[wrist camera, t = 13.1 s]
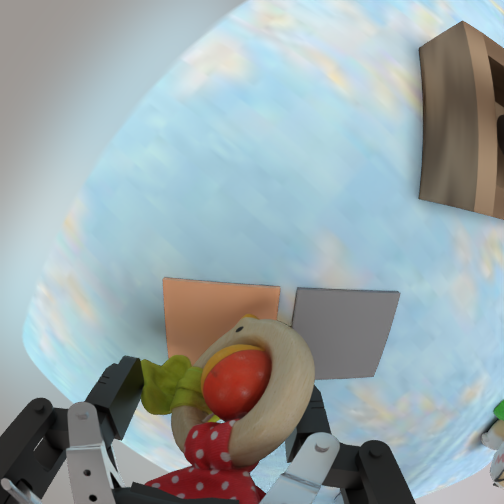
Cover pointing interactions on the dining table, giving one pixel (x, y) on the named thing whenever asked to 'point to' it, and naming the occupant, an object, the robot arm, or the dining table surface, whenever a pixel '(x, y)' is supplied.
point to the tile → (210, 311)
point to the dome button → (500, 132)
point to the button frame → (462, 121)
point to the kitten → (496, 446)
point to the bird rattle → (231, 406)
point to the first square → (344, 329)
